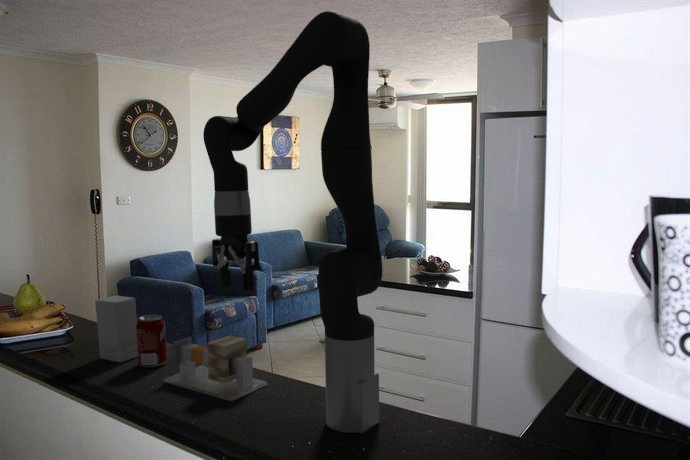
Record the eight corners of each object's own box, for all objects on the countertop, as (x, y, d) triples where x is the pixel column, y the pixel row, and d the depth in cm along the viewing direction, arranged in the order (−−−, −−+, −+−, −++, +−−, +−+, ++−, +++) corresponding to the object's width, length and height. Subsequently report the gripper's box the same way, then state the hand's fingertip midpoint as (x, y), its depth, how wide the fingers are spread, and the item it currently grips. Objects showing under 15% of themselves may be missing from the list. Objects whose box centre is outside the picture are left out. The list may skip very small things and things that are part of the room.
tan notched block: (247, 374, 133) (245, 338, 132) (224, 383, 127) (223, 346, 126) (230, 370, 136) (229, 335, 135) (208, 379, 130) (207, 342, 129)
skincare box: (140, 356, 154) (137, 297, 152) (118, 364, 148) (115, 302, 147) (119, 351, 158) (116, 294, 157) (97, 358, 153) (94, 299, 151)
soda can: (158, 370, 143) (156, 321, 142) (132, 368, 145) (130, 320, 144) (171, 361, 150) (169, 314, 149) (147, 359, 151) (145, 313, 150)
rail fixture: (267, 385, 133) (266, 348, 132) (231, 401, 123) (230, 361, 123) (200, 368, 144) (199, 334, 144) (163, 381, 135) (162, 345, 134)
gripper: (267, 212, 123) (270, 289, 124) (229, 211, 133) (232, 283, 134) (236, 214, 117) (240, 295, 119) (199, 213, 128) (203, 288, 129)
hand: (236, 288), depth 127 cm, fingers open, 8 cm apart
